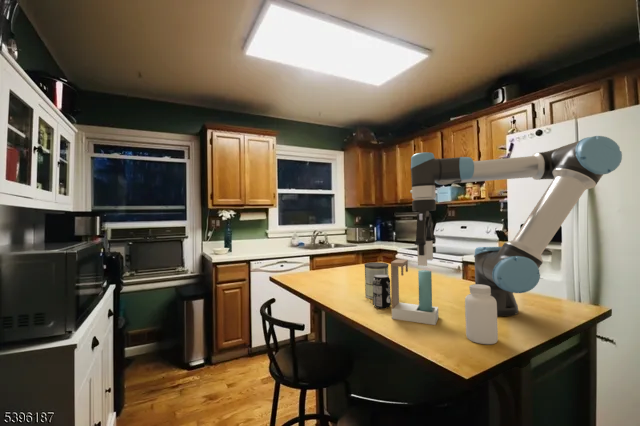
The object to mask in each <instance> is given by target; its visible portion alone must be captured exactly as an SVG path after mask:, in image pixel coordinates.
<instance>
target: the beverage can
mask: <svg viewBox="0 0 640 426" xmlns="http://www.w3.org/2000/svg"><path fill="white" fill-rule="evenodd" d="M372 302H373V306H374V307H375V308H377V309H380V310H381V309H389V308H390V307H391V306H392V297H391V277H390V274H388V275H386V274H376V275H374V278H373V299H372Z"/></svg>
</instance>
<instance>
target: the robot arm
mask: <svg viewBox="0 0 640 426" xmlns="http://www.w3.org/2000/svg"><path fill="white" fill-rule="evenodd" d="M410 160H411V161H410V175H411V176H410V177H411V190H410V191H409V193H410V194H411V198H412V199H413V200H412V201H411V202H412V203H411V206H412V207H411V208H412V212H419V213H416V233H415V241H414V246H417V247H416V248H417V249H416V250H417V266H421V267H422V266H423V267H427V266H428V260H434V249H433V248H434V247H433V246H434V245H433V242H435V240H436V239H435V237H434V234H433V226H432V225H433V224H432V223H433V222H432V214H431V213H430V212H431V211H432V212H433V211H434V212H435V211H436V210H437V205H436V203H437V201H436V199H435V198H436V197H437V195H436V185H439V186H440V185H441V186H447V185H448V184H458V183H459V184H461V183H462V184H463V183H473V182H475V183H476V182H486V181H489V182H490V181H499V180H500V181H501V180H502V181H503V180H513V179H514V180H515V179H527V178H532V179H533V180H539V181H540V180H552V181H551V183H550V184H549V185H548V187H547V189H546V190H545V191H544V193H543V194H542V196H541V197H540V199H539V200H538V202H537V204H536V205H535V206H534V208H533V209H532V211H531V212H530V213H529V215H528V217H527V218H526V219H525V221H524V223H523V224H522V226H521V227H520V229H519V230H518V231H517V233H516V235H515V236H514V238H513V239H512V240H511V241H505V242H504V243H503V244H502V246H477V247H476V248H475V250H474V254H473V258H474V284H481V285H487V286H490V288H491V292H490V293H491V295H490V296H492V297H494V298H495V299H496V302H497V317H499V316H500V317H511V316H516V315H518V313H519V306H518V303H517V300H516V298H515V295H514V294H523V293H527V292H531V290H533V289H534V288H535V287H536V286H537V285H538V283H539V282H540V278H541V274H540V267H541V266H542V264H543V263H544V260H543V258H542V254H543V252H544V251H545V249H546V248H547V247H548V245H549V244H550V242H551V241H552V240H553V238H554V236H555V235H556V233H557V232H558V231H559V230H560V228H561V226H562V224H563V223H564V222H565V220H566V219H567V217H568V216H569V214H570V213H571V211H572V210H573V209H574V208H575V205H576V204H577V203H578V201H579V200H580V198H581V197H582V195H583V194H584V192H585V191H586V190H590V189H593V188H595V187H596V185H597V184H598V183H599V181H600V180H601V178H602V177H603V176H604V175H607V174H610V173H611V172H613V171H615V170H616V169H618V167H619V166H620V165H621V163H622V160H623V153H622V151H621V149H620V145H619V144H618V143H617V142H616V141H615V140H613V139H611V138H610V137H608V136H603V135H594V136H588V137H584V138H581V139H580V140H577V141H575V142H571V143H569V144H565V145H562V146H559V147H558V148H555V149H550V150H546V151H542V152H535V153H533V154H532V155H530V156H520V157H508V158H496V159H495V158H494V159H487V160H486V159H484V160H475V161H474V159H473V158H472V157H469V156H460V157H459V156H458V157H445V158H436V157H435V155H434V153H433V152H427V151H426V152H424V151H423V152H418V153H415V154H413V155H412V156H411V157H410Z"/></svg>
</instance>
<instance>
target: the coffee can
mask: <svg viewBox="0 0 640 426" xmlns="http://www.w3.org/2000/svg"><path fill="white" fill-rule="evenodd" d="M376 274H386V275H389V263H387V262H378V261H376V262H374V261H373V262H366V263H364V288H365V295H364V296H365V298H367V299H371V300H373V278H374V275H376Z"/></svg>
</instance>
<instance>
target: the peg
mask: <svg viewBox="0 0 640 426" xmlns="http://www.w3.org/2000/svg"><path fill="white" fill-rule="evenodd" d="M417 274H418V281H417V282H418V305H419V311H425V312H432V306H433V285H432V284H433V283H432V281H433V280H432V270H427V269H421V270H420V269H419V270H418V271H417Z"/></svg>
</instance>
